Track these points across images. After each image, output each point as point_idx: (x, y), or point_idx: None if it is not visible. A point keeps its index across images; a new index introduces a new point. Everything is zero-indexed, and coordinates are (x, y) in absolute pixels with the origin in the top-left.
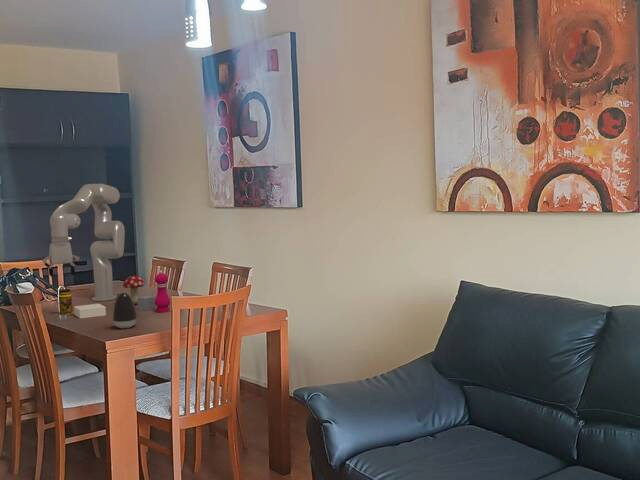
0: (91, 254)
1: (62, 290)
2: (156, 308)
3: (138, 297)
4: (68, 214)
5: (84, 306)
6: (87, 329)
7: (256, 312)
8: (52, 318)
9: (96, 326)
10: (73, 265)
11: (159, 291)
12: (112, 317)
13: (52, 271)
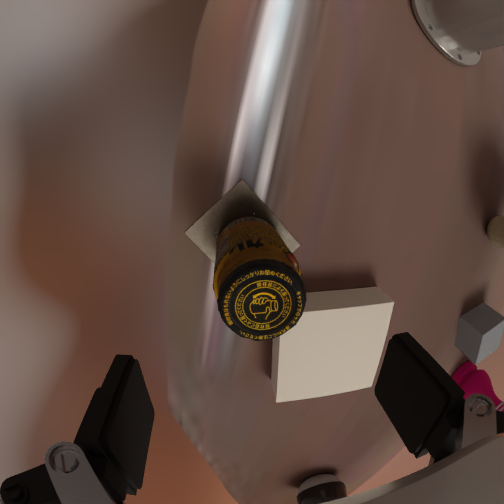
0: None
1: (240, 333)
2: (456, 381)
3: (483, 337)
4: None
5: (320, 341)
6: (247, 476)
7: None
8: (174, 320)
9: (274, 465)
10: (442, 456)
11: None
12: (298, 499)
13: (141, 463)
